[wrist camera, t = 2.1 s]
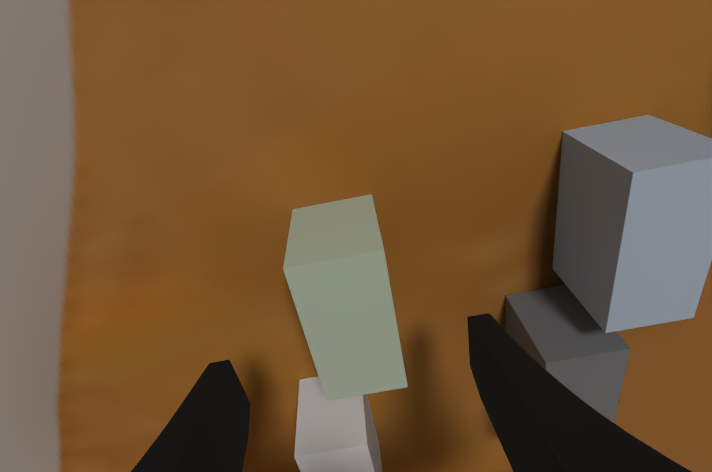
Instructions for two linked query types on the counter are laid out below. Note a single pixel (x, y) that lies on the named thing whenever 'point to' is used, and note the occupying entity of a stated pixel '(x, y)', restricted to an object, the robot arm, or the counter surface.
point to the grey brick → (334, 432)
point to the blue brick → (634, 220)
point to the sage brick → (344, 297)
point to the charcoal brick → (569, 344)
